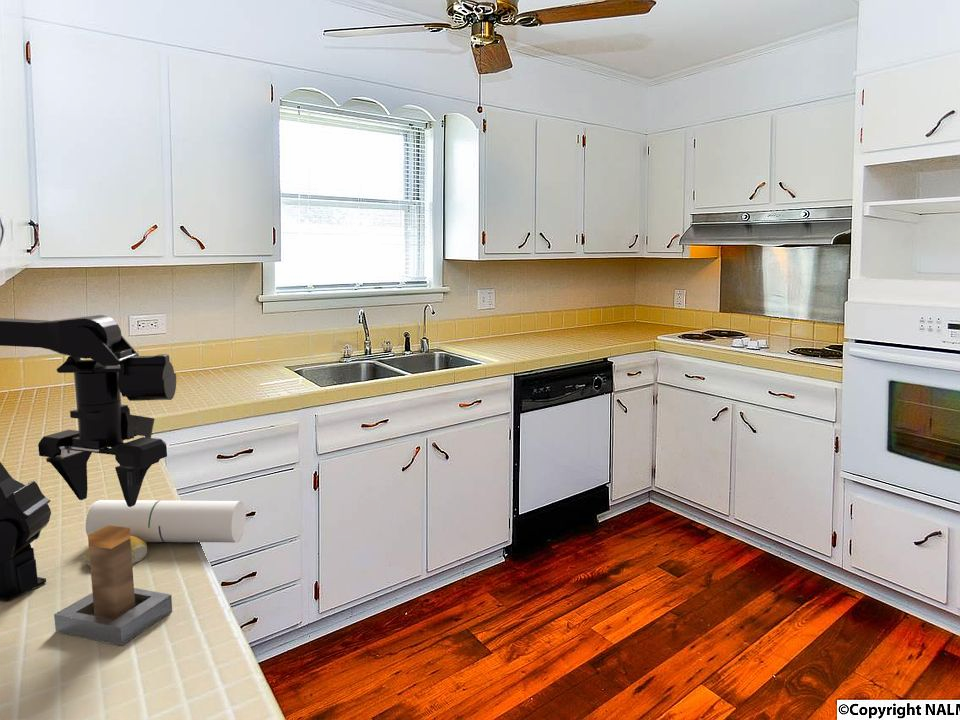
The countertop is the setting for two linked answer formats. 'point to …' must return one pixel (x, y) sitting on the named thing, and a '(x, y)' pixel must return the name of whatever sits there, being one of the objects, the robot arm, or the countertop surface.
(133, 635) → the grey rectangular frame
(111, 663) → the countertop surface
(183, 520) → the cylindrical container
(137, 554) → the bread roll
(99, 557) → the walnut pin
